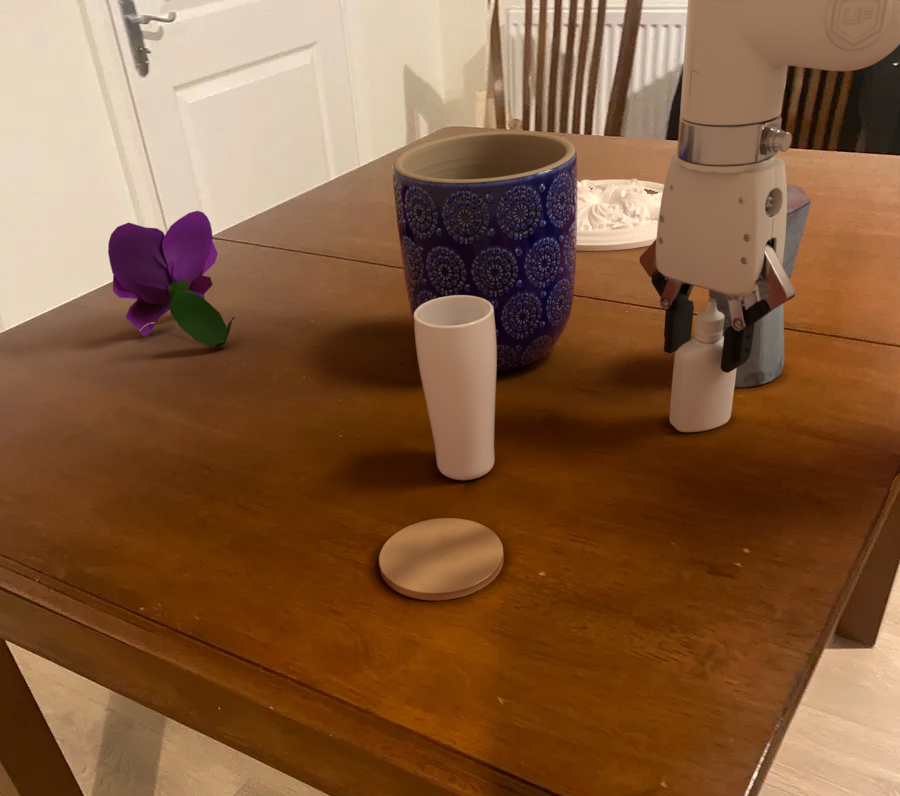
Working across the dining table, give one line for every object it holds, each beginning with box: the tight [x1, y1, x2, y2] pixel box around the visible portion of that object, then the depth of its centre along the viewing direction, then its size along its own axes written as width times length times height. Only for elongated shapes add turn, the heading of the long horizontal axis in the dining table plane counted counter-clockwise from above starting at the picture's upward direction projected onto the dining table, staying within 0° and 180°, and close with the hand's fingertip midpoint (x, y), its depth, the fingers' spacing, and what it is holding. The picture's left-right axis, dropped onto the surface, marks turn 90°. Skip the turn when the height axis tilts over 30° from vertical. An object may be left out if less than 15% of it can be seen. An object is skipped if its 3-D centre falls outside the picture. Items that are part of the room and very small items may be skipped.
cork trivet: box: [378, 517, 505, 602], centre depth 74 cm, size 10×10×1 cm
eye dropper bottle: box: [668, 298, 737, 433], centre depth 84 cm, size 4×6×12 cm
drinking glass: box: [413, 295, 498, 481], centre depth 80 cm, size 7×7×15 cm
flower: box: [107, 210, 236, 349], centre depth 110 cm, size 15×15×14 cm
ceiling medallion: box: [576, 178, 665, 252], centre depth 134 cm, size 28×28×3 cm
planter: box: [391, 130, 578, 373], centre depth 97 cm, size 18×18×21 cm
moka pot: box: [708, 183, 812, 388], centre depth 89 cm, size 10×15×20 cm, turn 158°
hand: (705, 355), depth 83 cm, fingers open, 5 cm apart
